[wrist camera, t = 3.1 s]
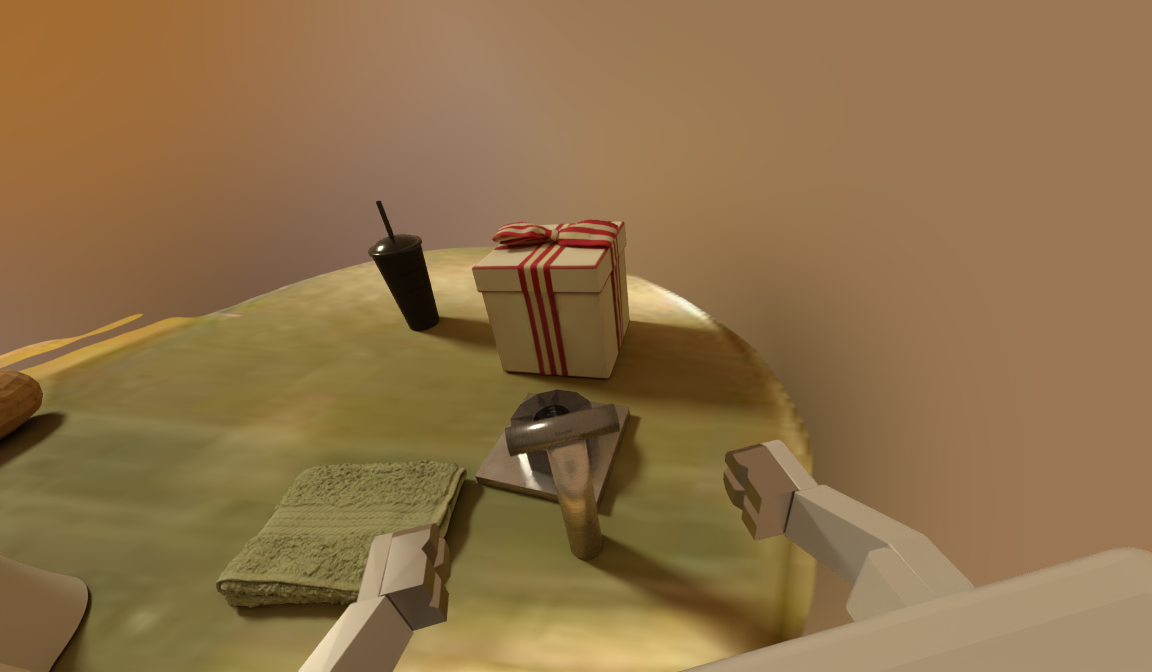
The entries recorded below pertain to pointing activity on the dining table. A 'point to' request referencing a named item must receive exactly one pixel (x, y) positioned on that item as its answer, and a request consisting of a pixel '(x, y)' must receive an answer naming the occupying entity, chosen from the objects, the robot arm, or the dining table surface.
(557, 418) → the chuck key
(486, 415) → the dining table surface
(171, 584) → the dining table surface
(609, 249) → the gift box
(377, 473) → the washcloth
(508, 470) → the chuck socket
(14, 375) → the potato
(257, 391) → the dining table surface
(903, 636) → the robot arm
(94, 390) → the dining table surface
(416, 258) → the drinking cup
